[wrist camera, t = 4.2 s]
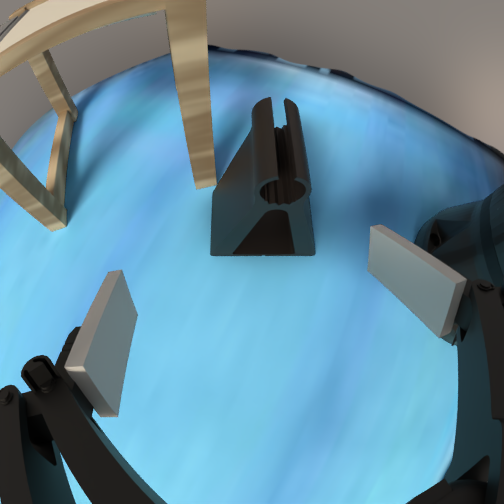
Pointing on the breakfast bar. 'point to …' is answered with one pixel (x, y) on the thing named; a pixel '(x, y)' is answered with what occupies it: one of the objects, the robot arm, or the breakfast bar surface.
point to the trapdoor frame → (37, 53)
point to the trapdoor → (44, 19)
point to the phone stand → (265, 191)
